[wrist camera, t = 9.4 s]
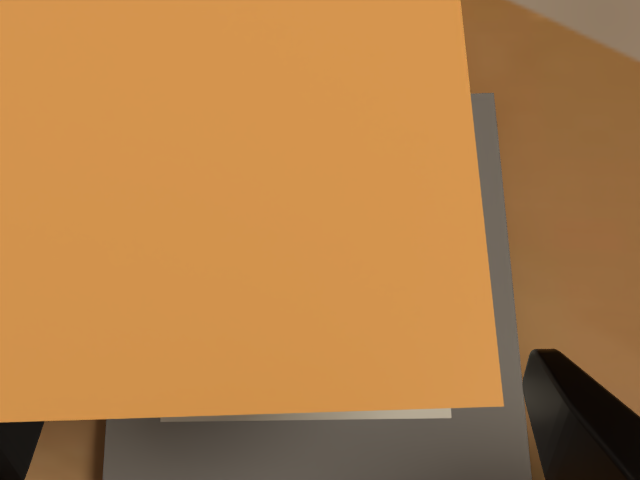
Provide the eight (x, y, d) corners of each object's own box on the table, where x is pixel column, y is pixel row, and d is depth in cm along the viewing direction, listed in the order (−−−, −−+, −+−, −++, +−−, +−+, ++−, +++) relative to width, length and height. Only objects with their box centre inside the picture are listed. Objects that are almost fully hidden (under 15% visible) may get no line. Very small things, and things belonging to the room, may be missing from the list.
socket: (522, 490, 16) (579, 540, 12) (115, 493, 17) (45, 540, 13) (485, 105, 19) (522, 45, 15) (136, 120, 20) (84, 66, 16)
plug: (380, 350, 16) (504, 406, 4) (240, 355, 17) (-110, 425, 4) (372, 213, 17) (446, -125, 5) (239, 220, 17) (-44, -87, 5)
